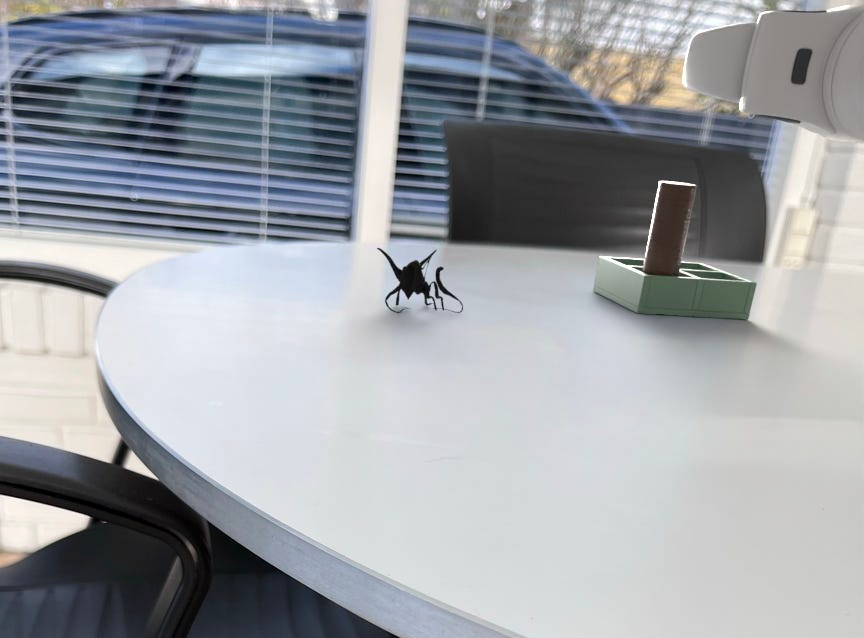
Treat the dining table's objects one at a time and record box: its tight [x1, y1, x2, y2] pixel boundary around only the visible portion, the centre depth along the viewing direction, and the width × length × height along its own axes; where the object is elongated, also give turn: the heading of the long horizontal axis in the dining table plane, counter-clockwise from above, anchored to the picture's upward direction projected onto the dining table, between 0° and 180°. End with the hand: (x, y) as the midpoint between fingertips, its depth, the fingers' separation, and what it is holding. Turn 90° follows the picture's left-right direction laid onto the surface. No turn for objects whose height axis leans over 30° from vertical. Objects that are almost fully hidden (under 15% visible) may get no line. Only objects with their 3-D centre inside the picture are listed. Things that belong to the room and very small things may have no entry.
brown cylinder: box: [642, 180, 698, 277], centre depth 104 cm, size 4×4×11 cm
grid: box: [592, 255, 758, 321], centre depth 110 cm, size 12×12×4 cm
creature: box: [376, 247, 464, 314], centre depth 95 cm, size 8×5×8 cm
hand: (768, 72), depth 87 cm, fingers open, 8 cm apart
